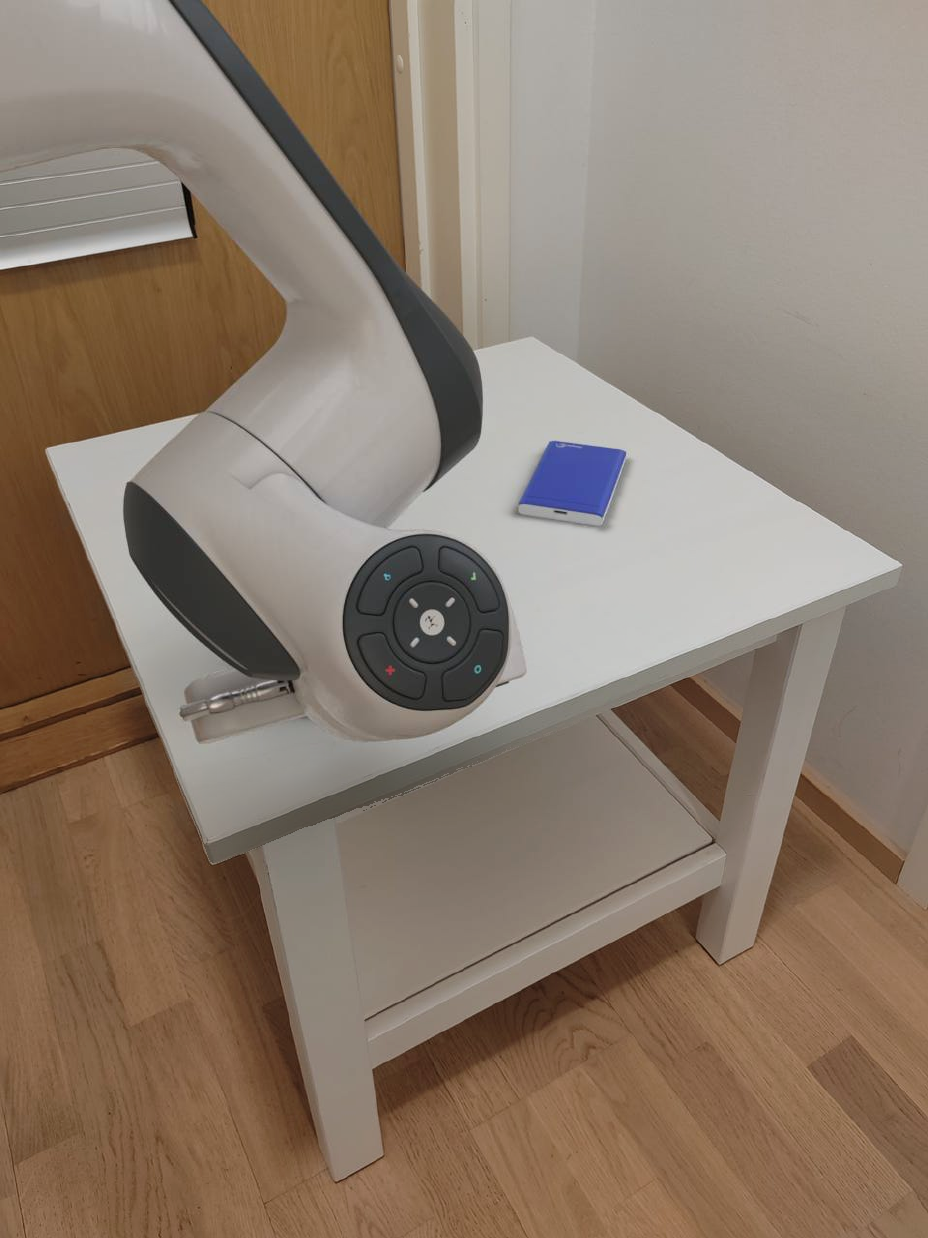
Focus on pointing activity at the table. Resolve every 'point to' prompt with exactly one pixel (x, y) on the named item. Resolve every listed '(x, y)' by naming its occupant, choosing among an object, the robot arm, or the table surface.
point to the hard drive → (573, 483)
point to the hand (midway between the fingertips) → (340, 679)
